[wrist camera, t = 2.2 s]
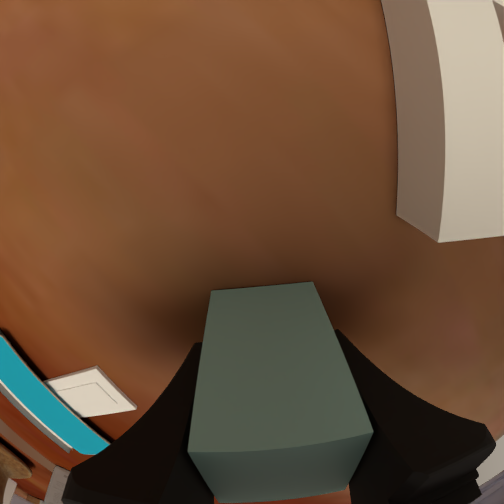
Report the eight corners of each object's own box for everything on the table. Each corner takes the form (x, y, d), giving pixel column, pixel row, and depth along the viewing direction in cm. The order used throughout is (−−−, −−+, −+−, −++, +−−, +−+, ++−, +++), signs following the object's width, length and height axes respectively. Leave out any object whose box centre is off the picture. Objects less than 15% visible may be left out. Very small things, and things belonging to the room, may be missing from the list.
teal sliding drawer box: (208, 458, 18) (207, 476, 16) (104, 465, 20) (100, 478, 18) (12, 232, 11) (-8, 245, 9) (-49, 302, 12) (-61, 313, 11)
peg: (312, 281, 12) (373, 432, 5) (309, 355, 13) (344, 489, 7) (211, 290, 12) (187, 451, 5) (224, 363, 13) (219, 502, 7)
